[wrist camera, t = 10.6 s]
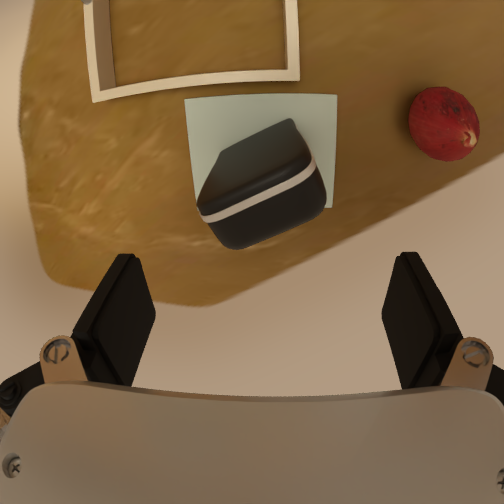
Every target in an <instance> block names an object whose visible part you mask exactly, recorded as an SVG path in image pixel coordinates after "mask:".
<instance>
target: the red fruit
mask: <svg viewBox="0 0 504 504" xmlns="http://www.w3.org/2000/svg"><path fill="white" fill-rule="evenodd" d="M408 123H409V129H410V134H411V136H412V138H413V139H414V141H415V143H416V145H417V146H418V147H419V148H420V150H422V151H423V152H424V153H426V154H427V155H428V156H429V157H431V158H434V159H437V160H442V161H446V162H447V161H454V160H459V159H462V158H463V157H465V156H466V155H468V154H469V153H470V152H471V151H472V150H473V148H474V147H475V146H476V144H477V142H478V138H479V134H480V129H479V120H478V117H477V115H476V112H475V110H474V108H473V106H472V105H471V104H470V103H469V102H468V101H467V99H466V98H465V97H464V96H463V95H462V94H460V93H458V92H456V91H453V90H451V89H449V88H447V87H432V88H427V89H425V90H424V91H422V92H421V93H419V94H418V95H417V96H416V97H415V99H414V101H413V103H412V105H411V107H410V112H409V118H408Z"/></svg>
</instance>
